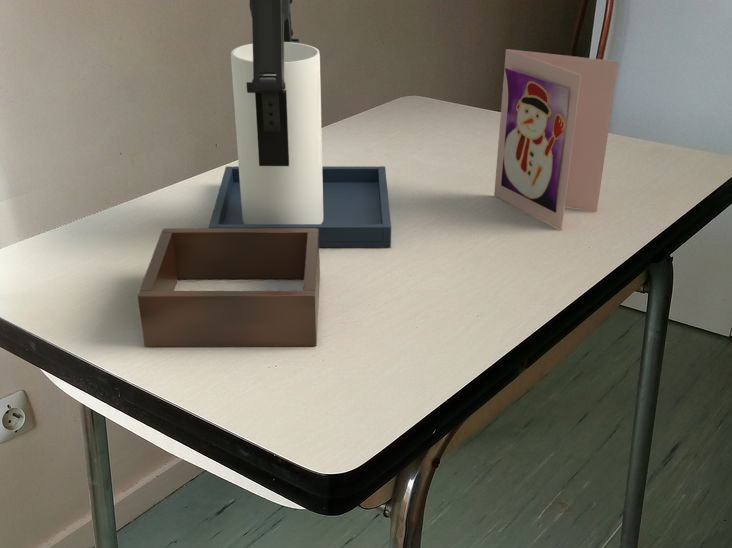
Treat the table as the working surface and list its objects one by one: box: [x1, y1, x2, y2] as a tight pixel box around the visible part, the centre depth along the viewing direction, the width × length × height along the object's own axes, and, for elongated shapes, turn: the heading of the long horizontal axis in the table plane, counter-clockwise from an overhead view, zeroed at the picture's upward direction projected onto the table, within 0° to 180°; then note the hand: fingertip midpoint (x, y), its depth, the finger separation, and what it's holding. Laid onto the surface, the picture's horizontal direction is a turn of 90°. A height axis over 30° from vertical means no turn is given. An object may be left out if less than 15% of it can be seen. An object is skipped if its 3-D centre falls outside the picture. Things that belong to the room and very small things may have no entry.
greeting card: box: [493, 48, 619, 231], centre depth 103 cm, size 11×7×15 cm, turn 31°
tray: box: [208, 165, 392, 249], centre depth 105 cm, size 18×18×2 cm
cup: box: [230, 42, 323, 224], centre depth 98 cm, size 8×8×16 cm
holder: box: [136, 227, 321, 348], centre depth 86 cm, size 14×14×4 cm
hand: (278, 142), depth 98 cm, fingers open, 13 cm apart
